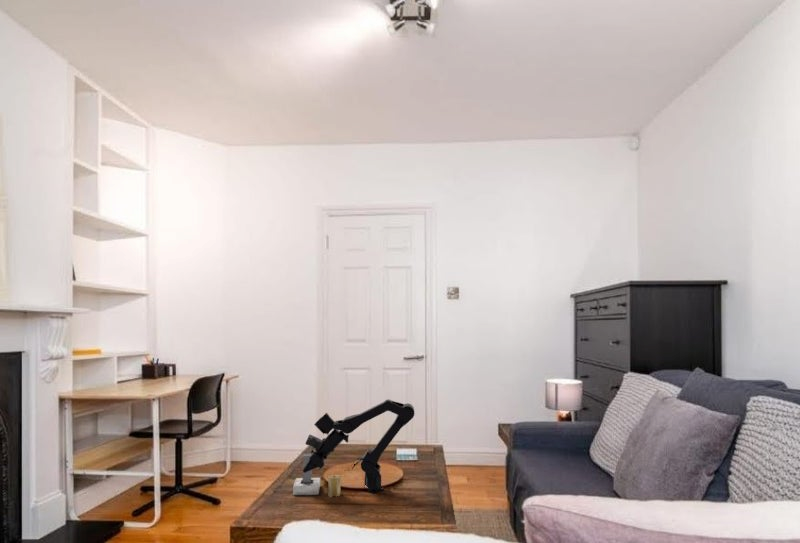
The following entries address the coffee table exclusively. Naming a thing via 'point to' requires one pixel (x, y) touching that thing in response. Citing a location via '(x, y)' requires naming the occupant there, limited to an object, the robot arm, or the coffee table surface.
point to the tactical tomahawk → (358, 459)
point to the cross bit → (334, 485)
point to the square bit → (308, 475)
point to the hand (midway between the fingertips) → (304, 470)
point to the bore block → (306, 487)
